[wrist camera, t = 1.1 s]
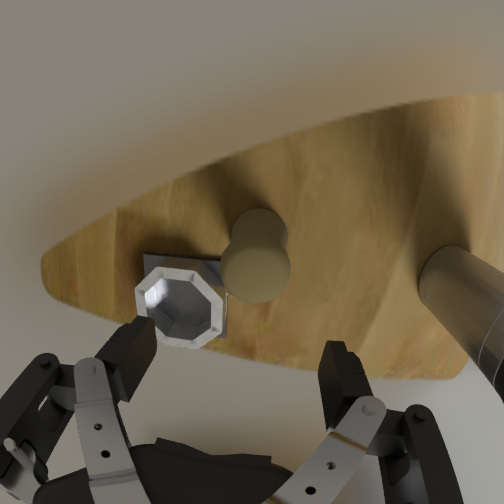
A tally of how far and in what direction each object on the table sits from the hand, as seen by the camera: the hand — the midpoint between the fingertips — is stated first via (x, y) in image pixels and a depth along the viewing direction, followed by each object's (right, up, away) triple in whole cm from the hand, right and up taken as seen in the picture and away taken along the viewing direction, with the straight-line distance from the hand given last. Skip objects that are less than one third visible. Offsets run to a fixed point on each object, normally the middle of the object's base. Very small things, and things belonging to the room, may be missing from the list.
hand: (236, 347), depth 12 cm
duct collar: (-7, -1, +20) cm, 21 cm away
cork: (+1, +6, +17) cm, 18 cm away
